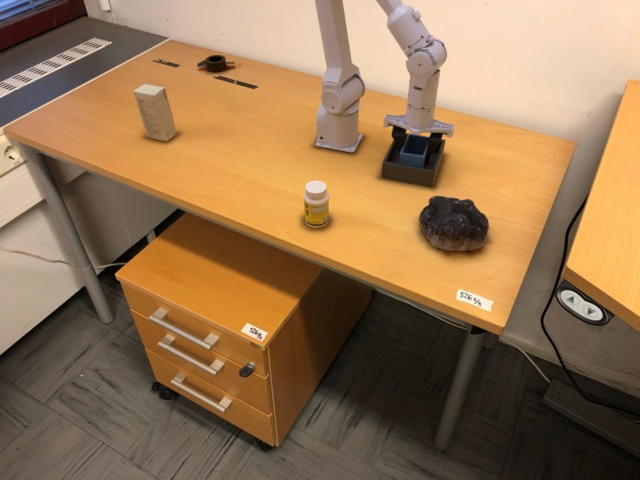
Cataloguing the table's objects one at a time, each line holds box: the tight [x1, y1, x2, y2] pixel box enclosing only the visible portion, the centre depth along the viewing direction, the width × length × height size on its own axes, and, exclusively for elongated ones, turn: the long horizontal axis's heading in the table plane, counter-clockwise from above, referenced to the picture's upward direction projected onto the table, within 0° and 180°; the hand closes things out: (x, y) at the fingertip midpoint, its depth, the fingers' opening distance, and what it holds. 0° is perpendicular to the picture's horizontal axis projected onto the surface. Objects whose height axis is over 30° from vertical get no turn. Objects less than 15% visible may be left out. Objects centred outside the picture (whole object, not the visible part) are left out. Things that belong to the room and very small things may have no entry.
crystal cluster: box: [418, 195, 490, 252], centre depth 96 cm, size 13×14×10 cm
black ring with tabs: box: [197, 54, 236, 74], centre depth 153 cm, size 8×10×3 cm
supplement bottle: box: [303, 180, 330, 229], centre depth 99 cm, size 5×5×8 cm
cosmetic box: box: [132, 83, 178, 142], centre depth 122 cm, size 6×4×12 cm
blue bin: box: [399, 132, 430, 168], centre depth 113 cm, size 8×5×5 cm, turn 160°
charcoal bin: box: [381, 132, 447, 188], centre depth 114 cm, size 11×13×4 cm
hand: (414, 159), depth 114 cm, fingers closed on blue bin, 5 cm apart
